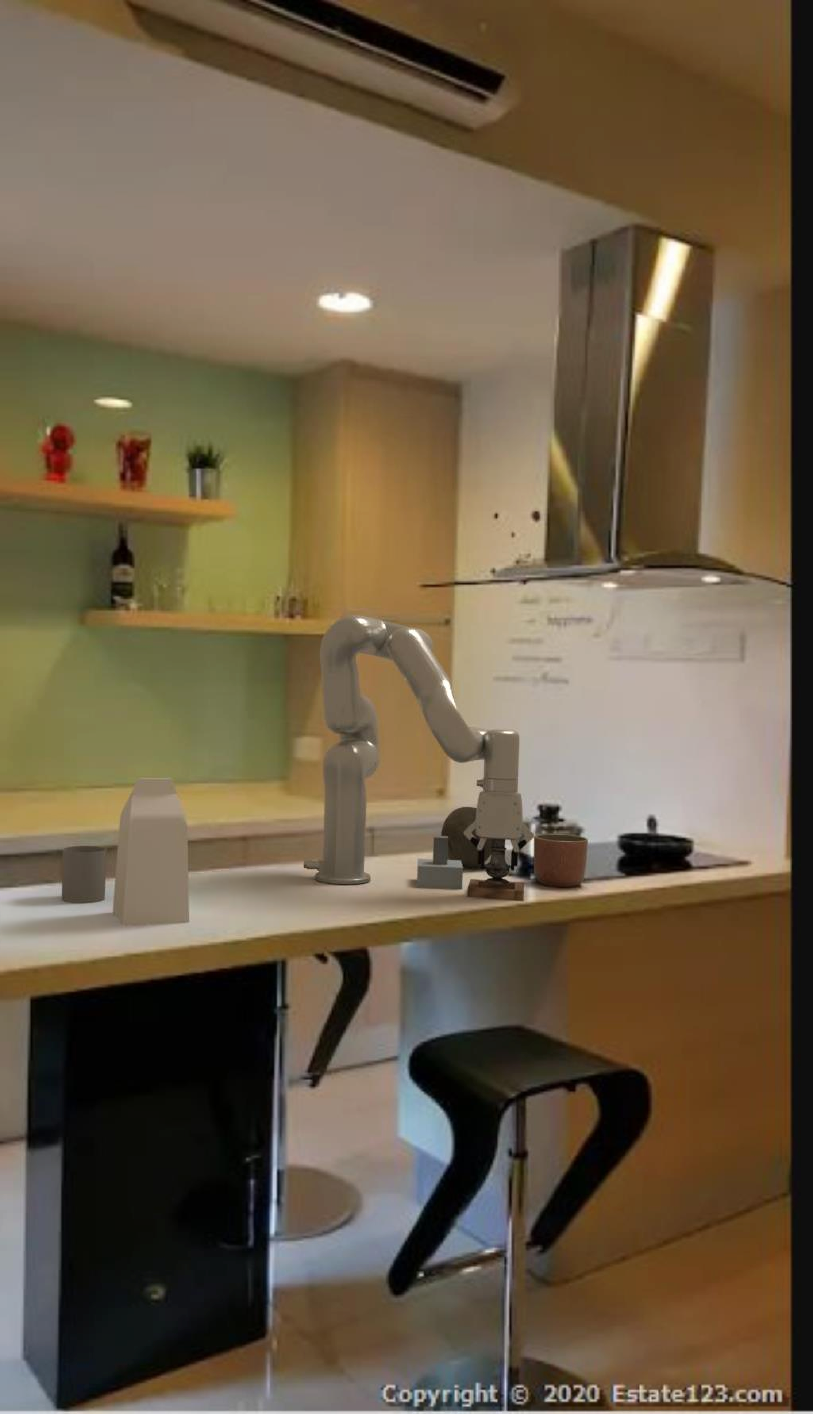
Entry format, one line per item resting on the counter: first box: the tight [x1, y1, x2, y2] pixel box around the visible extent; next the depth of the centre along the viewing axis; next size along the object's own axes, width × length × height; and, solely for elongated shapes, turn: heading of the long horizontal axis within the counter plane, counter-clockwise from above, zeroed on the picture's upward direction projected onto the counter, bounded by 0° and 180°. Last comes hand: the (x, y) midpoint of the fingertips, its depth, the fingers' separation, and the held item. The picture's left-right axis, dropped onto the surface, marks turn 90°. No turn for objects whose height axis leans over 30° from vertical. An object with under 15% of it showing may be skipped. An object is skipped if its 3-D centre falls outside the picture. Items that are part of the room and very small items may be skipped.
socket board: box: [466, 878, 525, 902], centre depth 245 cm, size 12×11×2 cm
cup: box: [61, 845, 107, 905], centre depth 223 cm, size 8×8×10 cm
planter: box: [533, 833, 589, 888], centre depth 260 cm, size 12×12×11 cm
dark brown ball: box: [440, 806, 492, 869], centre depth 279 cm, size 14×14×15 cm
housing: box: [416, 835, 464, 890], centre depth 254 cm, size 10×10×11 cm
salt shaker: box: [484, 839, 511, 884], centre depth 245 cm, size 6×6×12 cm
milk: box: [112, 777, 190, 927], centre depth 209 cm, size 12×12×26 cm
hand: (497, 867), depth 245 cm, fingers closed on salt shaker, 5 cm apart
